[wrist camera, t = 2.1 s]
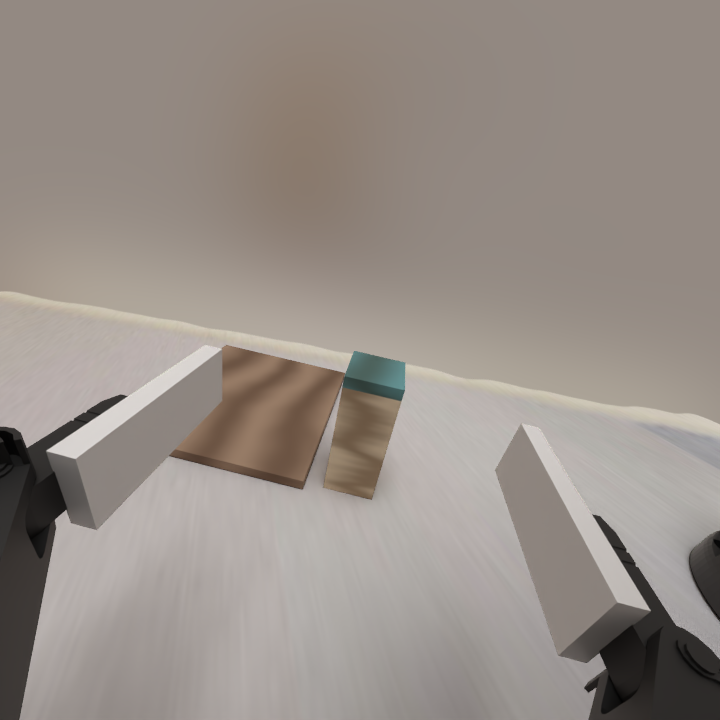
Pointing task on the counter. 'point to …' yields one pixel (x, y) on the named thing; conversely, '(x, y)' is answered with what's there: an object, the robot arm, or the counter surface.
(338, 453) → the maple block
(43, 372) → the counter surface
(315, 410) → the walnut board
